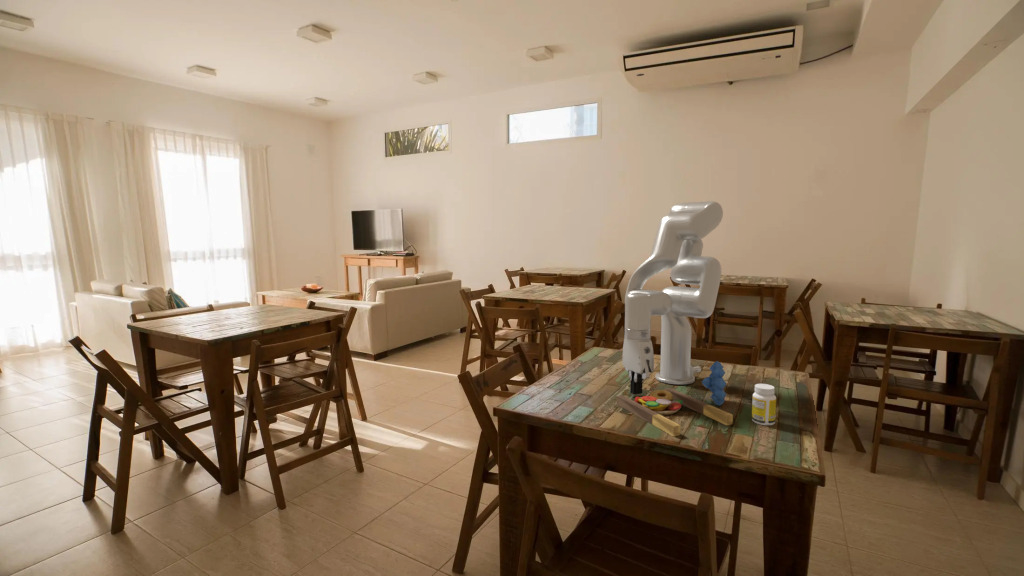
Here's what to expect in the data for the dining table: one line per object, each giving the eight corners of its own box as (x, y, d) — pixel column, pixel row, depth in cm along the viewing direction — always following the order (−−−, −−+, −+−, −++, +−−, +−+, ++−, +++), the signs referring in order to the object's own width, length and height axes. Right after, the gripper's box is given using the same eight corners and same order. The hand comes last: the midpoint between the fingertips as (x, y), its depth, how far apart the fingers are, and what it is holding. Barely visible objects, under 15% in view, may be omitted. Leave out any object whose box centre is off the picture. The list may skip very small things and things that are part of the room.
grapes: (698, 395, 144) (699, 356, 142) (721, 396, 142) (723, 357, 141) (704, 408, 133) (705, 367, 131) (729, 410, 131) (731, 368, 130)
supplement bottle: (771, 418, 125) (773, 383, 124) (778, 426, 120) (780, 390, 119) (749, 417, 126) (750, 382, 125) (754, 425, 121) (756, 388, 120)
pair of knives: (669, 395, 144) (669, 387, 144) (732, 424, 122) (732, 414, 121) (616, 404, 137) (616, 396, 137) (673, 436, 115) (673, 426, 114)
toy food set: (664, 398, 143) (665, 387, 142) (692, 413, 130) (693, 402, 130) (625, 402, 139) (625, 392, 139) (650, 419, 126) (650, 407, 126)
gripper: (664, 337, 136) (662, 399, 138) (633, 328, 150) (632, 384, 152) (642, 340, 133) (640, 402, 135) (612, 330, 147) (612, 387, 149)
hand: (636, 393), depth 143 cm, fingers closed
